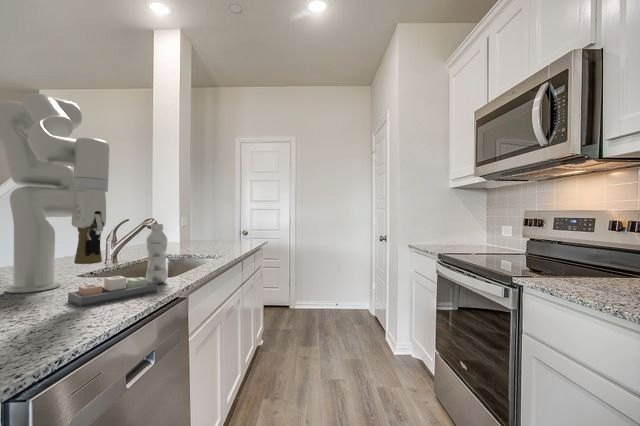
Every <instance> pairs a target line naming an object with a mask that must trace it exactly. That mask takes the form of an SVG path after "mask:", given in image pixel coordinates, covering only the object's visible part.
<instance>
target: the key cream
mask: <svg viewBox="0 0 640 426" xmlns="http://www.w3.org/2000/svg"><path fill="white" fill-rule="evenodd" d="M126 283H127V276H126V277H125V276H122V275H116V276H109V277H104V286H103V287H104V289H107V290H109V291H113V290H118V289H124V288H126Z"/></svg>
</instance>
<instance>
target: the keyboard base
mask: <svg viewBox="0 0 640 426" xmlns="http://www.w3.org/2000/svg"><path fill="white" fill-rule="evenodd" d="M67 293H68V294H67V296H68V298H67V302H68V303H69V304H72V305H73V306H76V307H77V308H80V309H85V308H89V307H93V306H99V305H104V304H108V303H109V304H110V303H114V302H118V301H119V302H120V301H124V300H129V299H130V300H131V299H134V298H139V297H144V296H149V295H153V294H154V295H155V294H158V284H153V283H149V282H148V286H142V287H137V288H131V289H127V282H126V288H124V289H118V290H113V291H109V290H107V289H104V286H102V294H97V295H91V296H85V297H84V296H81V295H79V290H77V291H71V292H67Z"/></svg>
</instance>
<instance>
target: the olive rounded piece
mask: <svg viewBox="0 0 640 426" xmlns="http://www.w3.org/2000/svg"><path fill="white" fill-rule="evenodd" d="M90 228H95V226H90ZM76 229H77V232H78V234H79V233H80V236H79V238H78V239H79V241H78V242H77V245H76V246H77V247H76V252H75V257H74V264H75V265H92V264H93V265H94V264H99V263H103V259H102V251H101V248H100V254H99V255H95V254H94V253H92V254H90V256H86V255H85V240H87V228H86V229H82V228H79V227H76ZM91 233H92V231H91Z"/></svg>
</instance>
